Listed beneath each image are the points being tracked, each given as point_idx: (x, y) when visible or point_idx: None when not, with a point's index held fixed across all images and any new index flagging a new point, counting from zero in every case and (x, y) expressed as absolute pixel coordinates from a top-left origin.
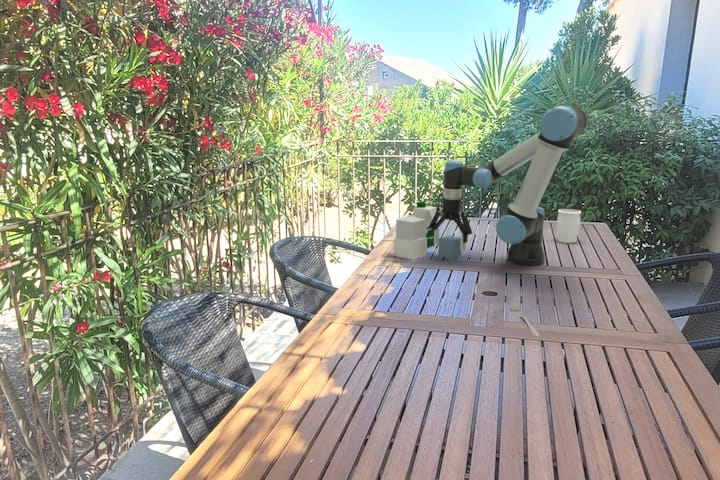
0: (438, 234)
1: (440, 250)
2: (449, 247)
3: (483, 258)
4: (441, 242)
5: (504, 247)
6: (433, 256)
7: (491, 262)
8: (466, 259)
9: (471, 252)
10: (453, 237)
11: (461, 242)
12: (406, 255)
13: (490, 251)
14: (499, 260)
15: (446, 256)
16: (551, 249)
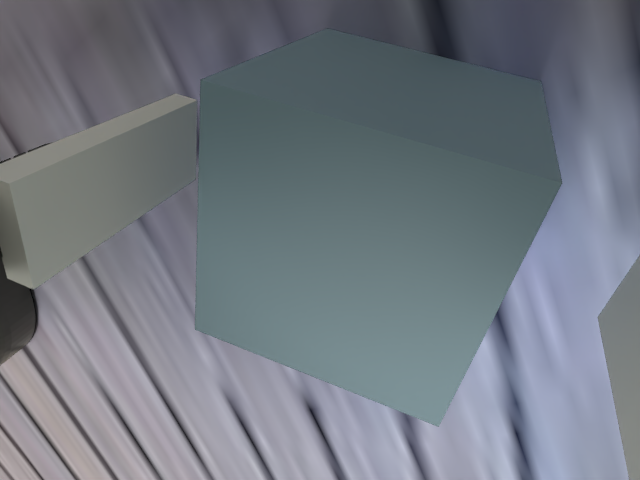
0: (636, 423)
1: (506, 94)
2: (320, 67)
3: None
4: (484, 128)
5: (169, 474)
6: (610, 13)
7: (11, 112)
8: (197, 98)
9: None
10: (306, 323)
11: (101, 129)
12: None
13: (181, 388)
14: None
15: (404, 51)
16: (13, 464)
